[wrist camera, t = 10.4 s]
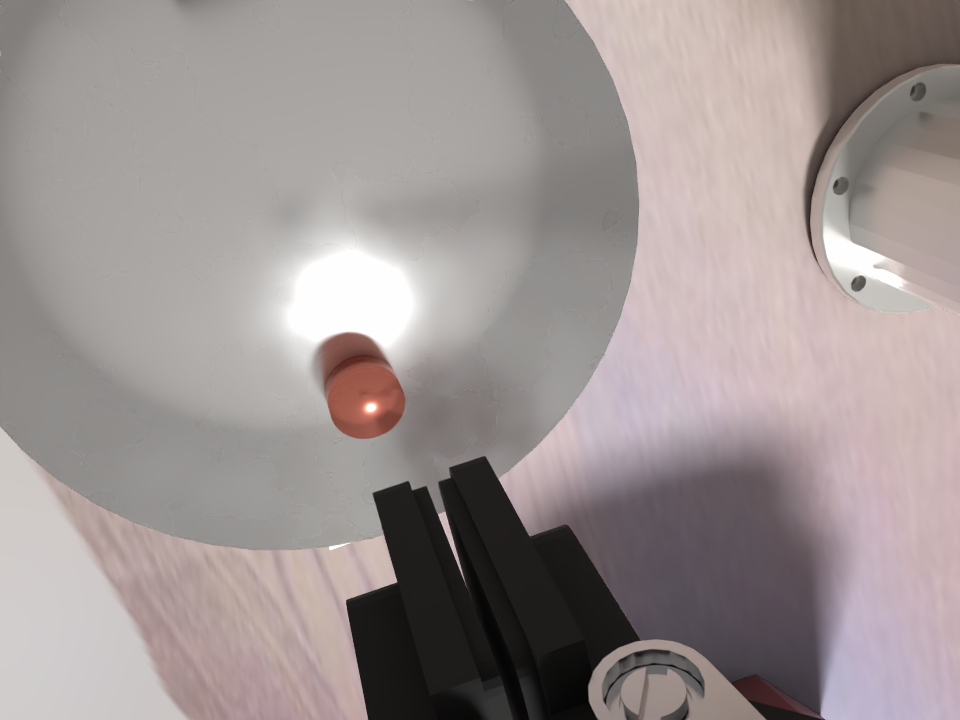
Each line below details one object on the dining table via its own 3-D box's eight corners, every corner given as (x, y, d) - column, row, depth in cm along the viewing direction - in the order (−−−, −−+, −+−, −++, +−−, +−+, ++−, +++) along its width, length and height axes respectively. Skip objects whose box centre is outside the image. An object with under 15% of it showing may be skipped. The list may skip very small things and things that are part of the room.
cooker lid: (-372, -226, 19) (-439, -242, 17) (533, -426, 22) (568, -459, 20) (121, 611, 32) (117, 659, 30) (659, 412, 35) (689, 444, 33)
